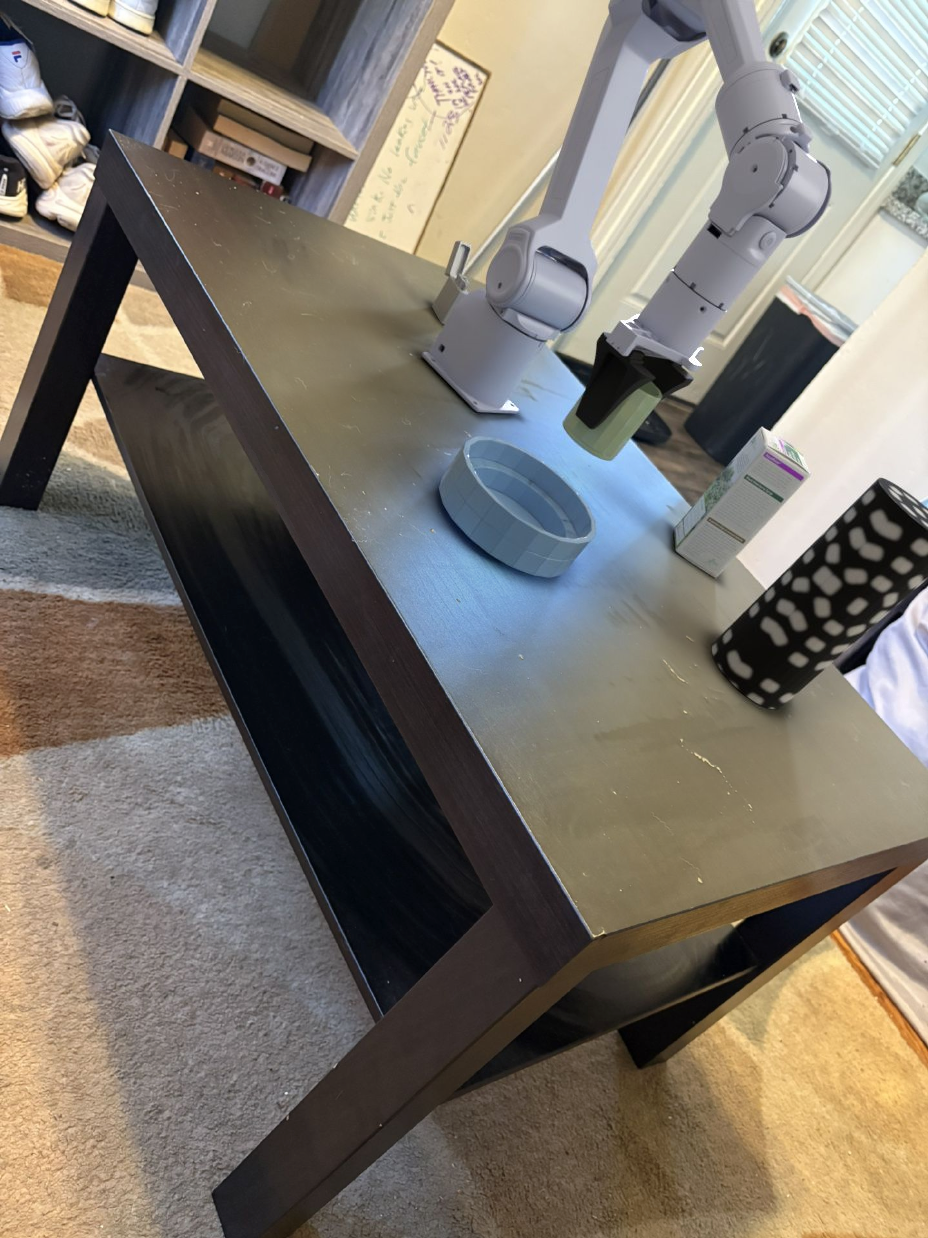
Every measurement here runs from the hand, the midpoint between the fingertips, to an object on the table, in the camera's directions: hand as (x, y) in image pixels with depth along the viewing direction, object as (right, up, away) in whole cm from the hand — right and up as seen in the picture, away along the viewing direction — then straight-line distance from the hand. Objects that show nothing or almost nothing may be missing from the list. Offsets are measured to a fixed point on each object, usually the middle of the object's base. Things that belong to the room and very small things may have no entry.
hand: (600, 422), depth 79 cm
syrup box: (+12, -11, +16) cm, 23 cm away
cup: (-1, -1, +1) cm, 2 cm away
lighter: (-16, +20, +28) cm, 37 cm away
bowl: (-9, -10, -5) cm, 14 cm away
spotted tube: (+14, -23, +1) cm, 27 cm away
